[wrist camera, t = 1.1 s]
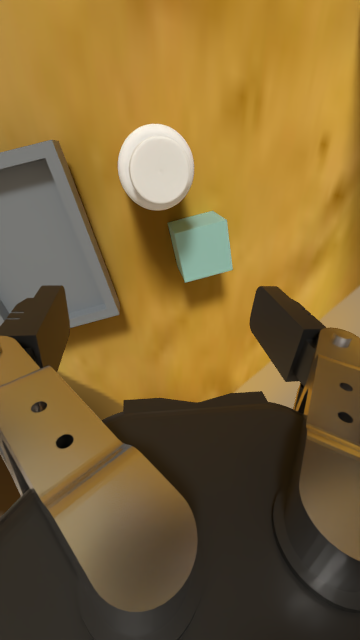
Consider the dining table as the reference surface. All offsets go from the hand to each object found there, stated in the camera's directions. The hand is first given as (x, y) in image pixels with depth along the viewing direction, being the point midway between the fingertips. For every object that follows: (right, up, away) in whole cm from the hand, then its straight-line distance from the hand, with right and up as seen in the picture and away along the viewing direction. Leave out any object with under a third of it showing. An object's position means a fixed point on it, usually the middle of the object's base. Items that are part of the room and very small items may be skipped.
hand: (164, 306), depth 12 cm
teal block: (+2, +8, +19) cm, 21 cm away
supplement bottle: (-2, +14, +15) cm, 21 cm away
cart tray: (-14, +7, +17) cm, 23 cm away
